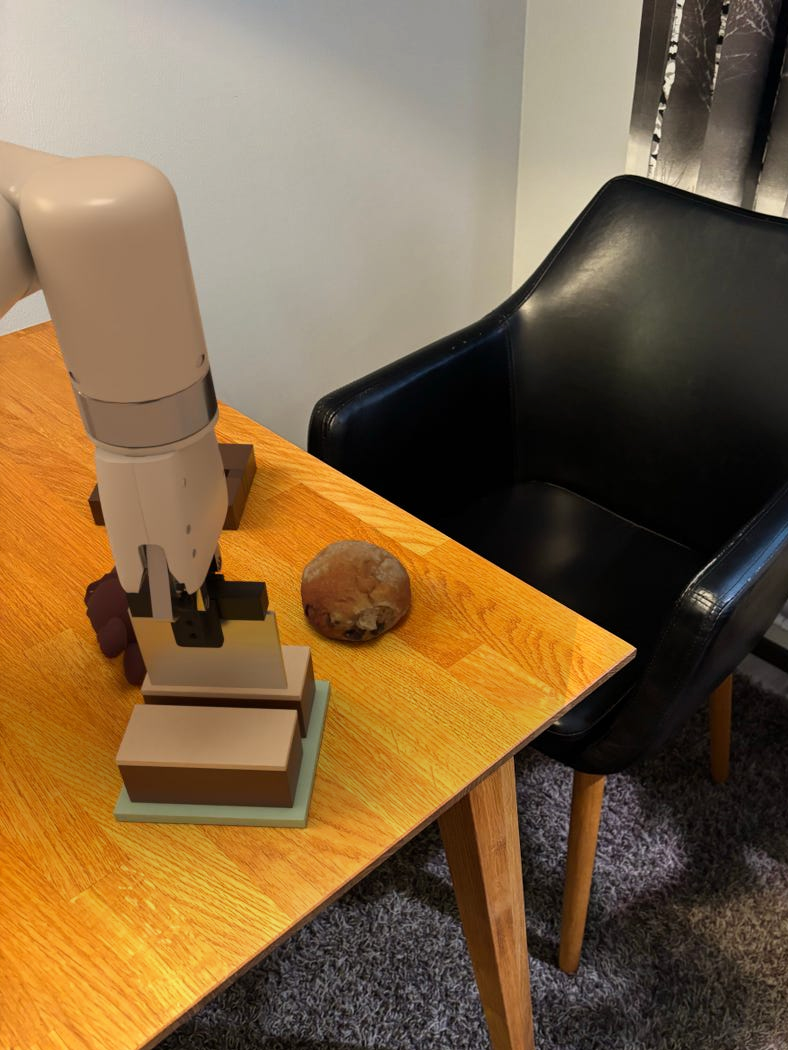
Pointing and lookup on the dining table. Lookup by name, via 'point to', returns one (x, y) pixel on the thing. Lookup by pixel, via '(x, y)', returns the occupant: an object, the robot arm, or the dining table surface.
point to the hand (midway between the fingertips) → (205, 630)
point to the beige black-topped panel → (236, 664)
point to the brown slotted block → (238, 482)
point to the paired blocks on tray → (225, 751)
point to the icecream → (114, 624)
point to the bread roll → (354, 590)
